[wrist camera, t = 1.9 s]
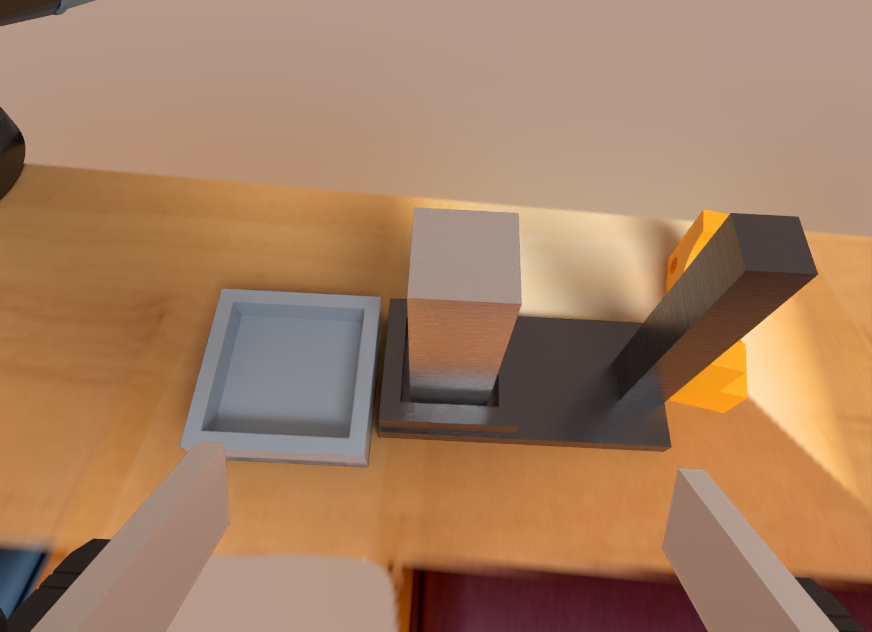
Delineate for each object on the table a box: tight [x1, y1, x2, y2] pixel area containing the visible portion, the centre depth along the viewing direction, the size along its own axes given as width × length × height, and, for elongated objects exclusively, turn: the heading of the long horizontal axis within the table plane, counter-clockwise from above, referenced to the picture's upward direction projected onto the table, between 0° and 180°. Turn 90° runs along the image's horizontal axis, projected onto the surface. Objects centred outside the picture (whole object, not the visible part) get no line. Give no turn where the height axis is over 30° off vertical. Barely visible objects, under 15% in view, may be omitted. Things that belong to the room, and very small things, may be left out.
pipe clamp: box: [666, 210, 747, 413], centre depth 38 cm, size 12×4×6 cm, turn 166°
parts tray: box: [180, 288, 383, 467], centre depth 37 cm, size 11×11×3 cm
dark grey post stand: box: [378, 213, 818, 452], centre depth 31 cm, size 19×9×17 cm, turn 88°
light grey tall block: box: [407, 208, 522, 406], centre depth 31 cm, size 5×5×14 cm
